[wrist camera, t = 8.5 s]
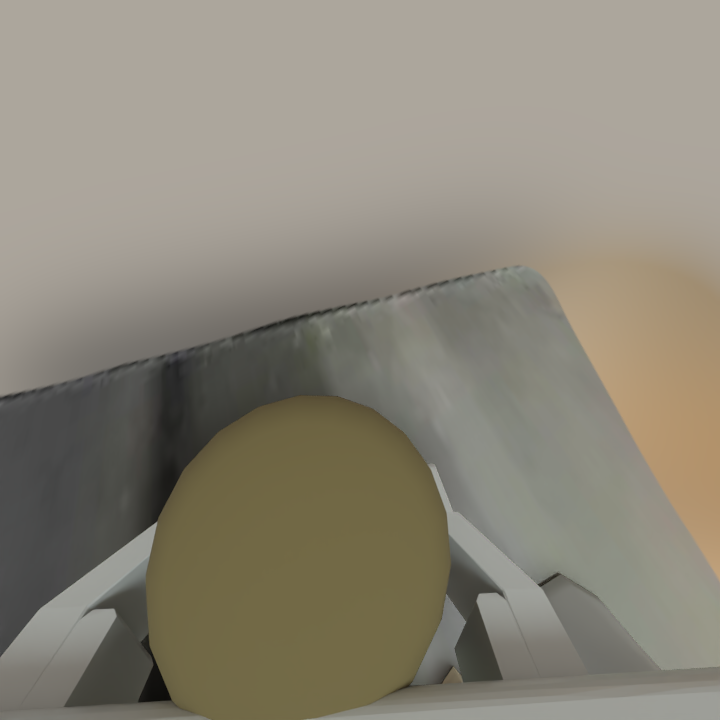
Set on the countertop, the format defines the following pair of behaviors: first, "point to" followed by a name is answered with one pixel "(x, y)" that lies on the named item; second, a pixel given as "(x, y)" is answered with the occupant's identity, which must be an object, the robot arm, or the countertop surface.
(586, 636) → the flask
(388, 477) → the cork
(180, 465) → the countertop surface
